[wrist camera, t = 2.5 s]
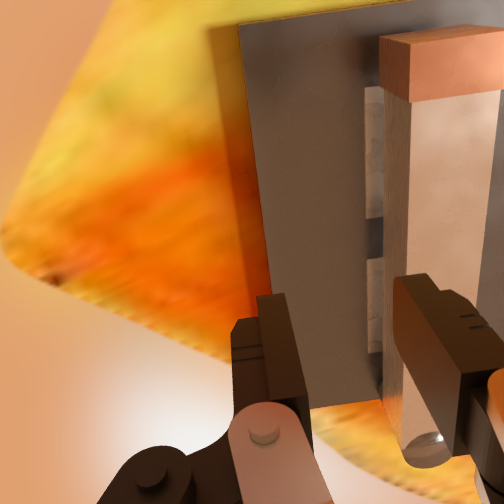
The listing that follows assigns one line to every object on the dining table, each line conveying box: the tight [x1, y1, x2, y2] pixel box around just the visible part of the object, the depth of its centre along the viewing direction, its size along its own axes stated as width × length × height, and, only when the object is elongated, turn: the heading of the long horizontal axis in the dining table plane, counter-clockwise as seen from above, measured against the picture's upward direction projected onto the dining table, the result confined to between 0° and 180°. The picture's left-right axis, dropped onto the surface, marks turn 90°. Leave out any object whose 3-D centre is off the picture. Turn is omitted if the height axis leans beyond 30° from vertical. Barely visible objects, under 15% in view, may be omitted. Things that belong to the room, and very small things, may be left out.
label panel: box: [237, 0, 504, 409], centre depth 32 cm, size 28×18×2 cm, turn 7°
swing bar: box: [378, 24, 504, 468], centre depth 29 cm, size 28×4×6 cm, turn 7°
